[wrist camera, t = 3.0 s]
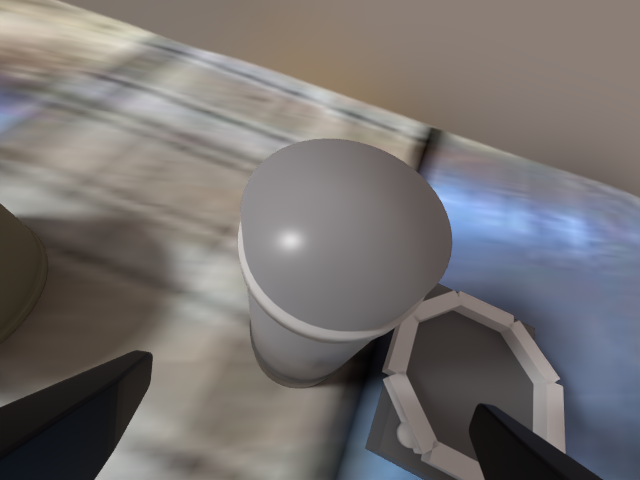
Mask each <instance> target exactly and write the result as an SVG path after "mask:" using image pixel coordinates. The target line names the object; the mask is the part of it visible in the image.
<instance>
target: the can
mask: <svg viewBox="0 0 640 480" xmlns="http://www.w3.org/2000/svg"><path fill="white" fill-rule="evenodd" d="M47 272H48V260H47V254H46V250H45V248H44V246H43V244H42V242H41V241H40V239H39V238H38V237H37V236H36V235H35V233H34V232H32V231H31V230H30V229H29V228H28V227H26V226H25V225H24V224H22V223H21V222H20V221H19V220H18V219H17V218H16V217H15V216H14V215H13V214H12V213H11V212H9V211H8V210H7V209H6V208H5V207H4V206H3V205H2V204H0V344H1V343H2V342H3V341H4V340H6V339H7V338H8V337H9V336H10V335H11V334H12V333H13V332H14V331H15V330H16V329H17V328H18V327H19V325H20V324H21V323H22V322H23V321H24V320H25V318H26V317H27V316H28V314H29V313H30V312H31V310H32V309H33V307H34V306H35V304H36V303H37V301H38V299H39V297H40V295H41V293H42V290H43V288H44V285H45V282H46V278H47Z"/></svg>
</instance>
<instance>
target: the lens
mask: <svg viewBox="0 0 640 480" xmlns="http://www.w3.org/2000/svg"><path fill="white" fill-rule="evenodd" d="M240 211H241V222H240V226H239V233H238V250H239V258H240V264H241V270H242V274H243V277H244V280H245V283H246V285H247V288H248V298H249V308H250V337H251V343H252V347H253V350H254V353H255V357H256V360H257V362H258V364H259V366H260V367H261V369H262V370H263V372H264V373H265V374H266V375H267V376H268V377H269V378H270V379H272V380H273V381H275V382H276V383H278V384H280V385H283V386H286V387H289V388H307V387H311V386H314V385H316V384H318V383H320V382H322V381H324V380H326V379H328V378H329V377H331V376H332V375H334V374H335V373H336V372H337V371H339V370H340V369H341V368H342V367H343V366H344V365H345V364H346V363H347V361H348V360H349V359H350V358H351V357H352V356H354V355H355V354H356V353H357V352H358V351H359V350H361V349H362V348H363V347H364V346H365V345H367V344H368V343H369V342H370V341H371V340H373V339H375V338H377V337H380V336H382V335H384V334H386V333H388V332H389V331H391V330H392V329H394V328H395V327H396V326H398V325H399V324H400V323H402V322H403V321H404V320H405V319H407V318H408V317H409V316H410V315H411V314H412V313H413V312H414V311H415V310H416V309H417V308H418V306H419V305H420V304H421V302H422V301H423V299H424V298H425V296H426V295H427V294H428V293H429V292H430V291H431V290H432V289H433V288H434V287H435V286H436V285H437V283H438V282H439V281H440V279H441V278H442V276H443V274H444V273H445V271H446V269H447V267H448V263H449V260H450V257H451V250H452V232H451V227H450V222H449V219H448V216H447V213H446V211H445V208H444V206H443V204H442V202H441V200H440V199H439V197H438V196H437V194H436V193H435V191H434V190H433V189H432V187H431V186H430V185H429V184H428V183H427V181H426V180H425V179H424V178H423V177H422V176H421V175H420V174H418V173H417V172H416V171H415V170H414V169H413V168H411V167H410V166H409V165H407V164H406V163H404V162H403V161H402V160H400V159H398V158H396V157H395V156H393V155H391V154H389V153H387V152H385V151H383V150H381V149H378V148H375V147H373V146H370V145H366V144H363V143H360V142H355V141H350V140H342V139H314V140H308V141H303V142H299V143H296V144H292V145H290V146H287V147H285V148H282V149H280V150H279V151H277V152H275V153H273V154H272V155H271V156H269V157H268V158H267V159H265V160H264V161H263V162H262V163H261V164H260V165H259V166H258V167H257V168H256V169H255V171H254V172H253V173H252V175H251V176H250V178H249V180H248V182H247V184H246V186H245V189H244V192H243V195H242V200H241V208H240Z"/></svg>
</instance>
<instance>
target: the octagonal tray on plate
mask: <svg viewBox="0 0 640 480" xmlns="http://www.w3.org/2000/svg"><path fill="white" fill-rule="evenodd" d="M382 372H384V373H386V378H384V379H383V381H384V385H383V388H382V392H381V395H380V399H379V402H378V406H377V409H376V413H375V416H374V419H373V423H372V426H371V430H370V433H369V437H368V440H367V444H366V447H365V448H366V449H367V450H369V451H371V452H373V453H375V454H377V455H379V456H381V457H382V458H384V459H386V460H388V461H390V462H392V463H394V464H396V465H397V466H399V467H401V468H403V469H405V470H407V471H409V472H411V473H412V474H414V475H416V476H418V477H420V478H422V479H424V480H485V479H484V477H483V474H482V471H481V468H480V465H479V462H478V460H477V457H476V454H475V451H474V448H473V445H472V443H471V440H470V437H469V425H470V422H471V419H472V416H473V414H474V411H475V408H476V406H477V405H478V404H479V403H484V404H491V405H494V406H496V407H498V408H499V409H501V410H502V411H503V412H505V413H506V414H508V415H509V416H511V417H512V418H514V419H515V420H517V421H518V422H519V423H521V424H522V425H524V426H525V427H527V428H528V429H530V430H531V431H533V432H534V433H536V434H537V435H538V436H540V437H541V438H543V439H544V440H546V441H547V442H549V443H550V444H552V445H553V446H555V447H556V448H557V449H559V450H560V451H562V452H563V453H565V454H566V452H565V426H564V400H563V386H561V385H559V384H557V383H555V382H556V381H557V380H559V379H560V378H559V377H558V375H557V374H556V372H555V371H554V369H553V368H552V366H551V365H550V364H549V362H548V361H547V359H546V358H545V356H544V355H543V354H542V352H541V351H540V349H539V348H538V346H537V345H536V343H535V342H534V328H533V327H531V326H529V325H527V324H525V323H522V322H520V320H519V321H518V320H516V319H514V315H511V314H509V313H507V312H505V311H503V310H501V309H498V308H496V307H494V306H492V305H490V304H488V303H486V302H483V301H481V300H479V299H477V298H475V297H473V296H470V295H468V294H466V293H464V292H462V291H460V292H456V291H455V290H451V289H449V288H447V287H445V286H443V285H441V284H439V283H437V285H436V286H435V287H434V288H433V289H432V290H431V291H430V292H429V293H428V294H427V295H426V296H425V298H424V299H423V301H422V302H421V304H420V305H419V306H418V308H417V309H416V310H415V311H414V312H413V313H412V314H411V315H410V316H409V317H408V318H407V319H405V320H404V321H403V322H402V323H400V324H399V325H398V326H396V327H395V329H394V333H393V336H392V340H391V343H390V346H389V350H388V353H387V356H386V360H385V363H384V366H383V370H382Z"/></svg>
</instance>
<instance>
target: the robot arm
mask: <svg viewBox="0 0 640 480" xmlns="http://www.w3.org/2000/svg"><path fill="white" fill-rule="evenodd" d="M152 361H153V356H152V354H151V352H146V351H139V350H135V351H132V352H130V353H127V354H125V355H123V356H120V357H118V358H116V359H113V360H111V361H109V362H106V363H104V364H102V365H99V366H97V367H94V368H92V369H90V370H87V371H85V372H83V373H80V374H78V375H76V376H73V377H71V378H69V379H66V380H64V381H61V382H59V383H57V384H54V385H52V386H50V387H47V388H45V389H43V390H40V391H38V392H35V393H33V394H31V395H28V396H26V397H24V398H21V399H19V400H17V401H14V402H12V403H10V404H7V405H5V406H2V407H0V480H95V478H96V477H97V475H98V474H99V472H100V471H101V469H102V468H103V466H104V465H105V463H106V462H107V460H108V459H109V457H110V456H111V454H112V453H113V451H114V449H115V448H116V446H117V444H118V442H119V441H120V439H121V437H122V435H123V433H124V432H125V430H126V428H127V426H128V424H129V423H130V421H131V419H132V417H133V415H134V413H135V412H136V410H137V408H138V406H139V404H140V403H141V401H142V399H143V397H144V395H145V393H146V392H147V390H148V387H149V385H150V381H151V372H152ZM469 437H470V440H471V443H472V445H473V448H474V451H475V454H476V457H477V460H478V462H479V465H480V468H481V471H482V474H483V477H484V479H485V480H603V479H601V478H600V477H598V476H597V475H595V474H594V473H593V472H591V471H590V470H588V469H587V468H585V467H584V466H582V465H581V464H579V463H578V462H576V461H575V460H574V459H572V458H571V457H569V456H568V455H566V454H565V453H563V452H562V451H560V450H559V449H557V448H556V447H555V446H553V445H552V444H550V443H549V442H547V441H546V440H544V439H543V438H541V437H540V436H538V435H537V434H536V433H534V432H533V431H531V430H530V429H528V428H527V427H525V426H524V425H522V424H521V423H519V422H518V421H517V420H515V419H514V418H512V417H511V416H509V415H508V414H506V413H505V412H503V411H502V410H501V409H499V408H498V407H496V406H494V405H491V404H484V403H479V404H478V405H477V406H476V408H475V411H474V414H473V416H472V419H471V422H470V425H469Z"/></svg>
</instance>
